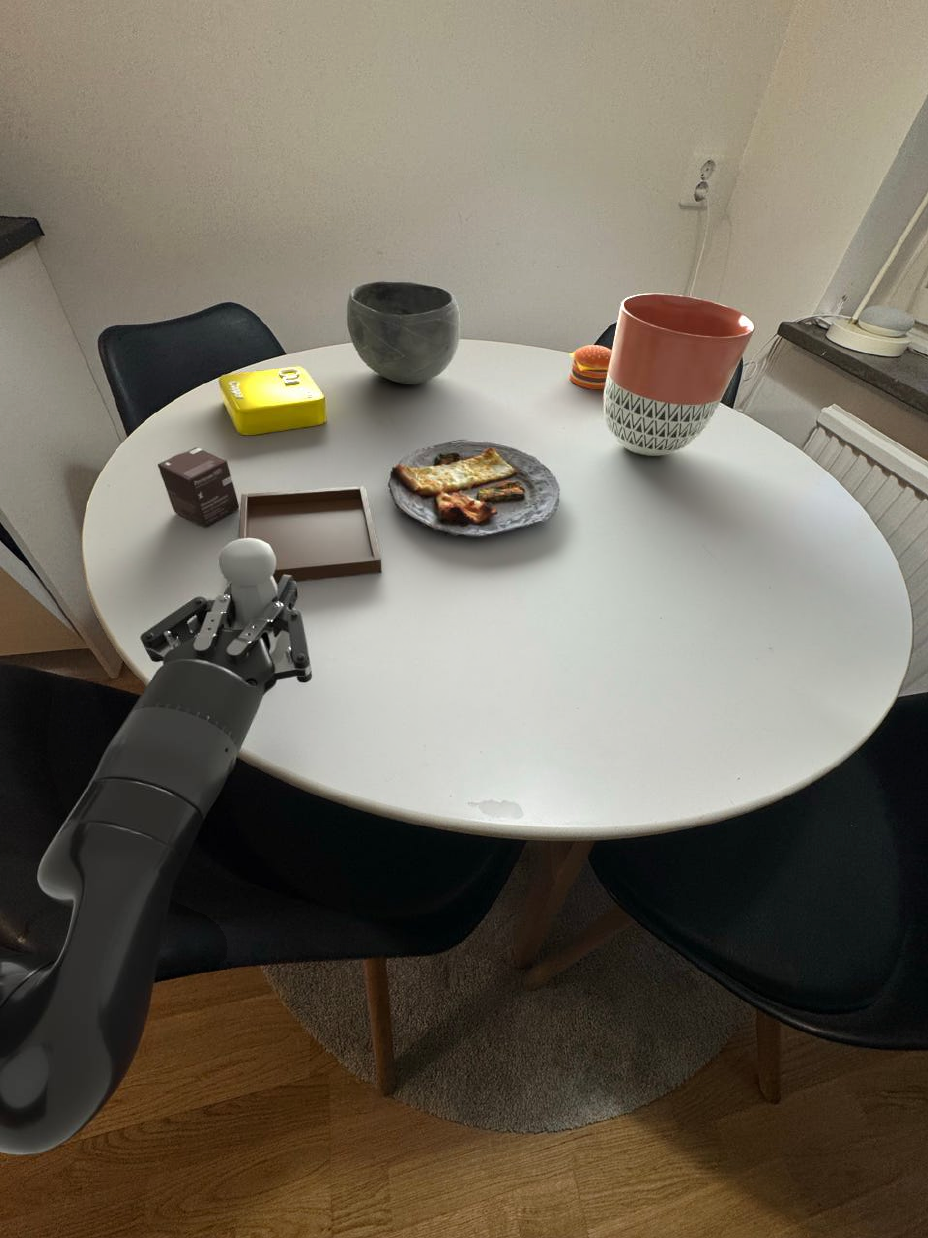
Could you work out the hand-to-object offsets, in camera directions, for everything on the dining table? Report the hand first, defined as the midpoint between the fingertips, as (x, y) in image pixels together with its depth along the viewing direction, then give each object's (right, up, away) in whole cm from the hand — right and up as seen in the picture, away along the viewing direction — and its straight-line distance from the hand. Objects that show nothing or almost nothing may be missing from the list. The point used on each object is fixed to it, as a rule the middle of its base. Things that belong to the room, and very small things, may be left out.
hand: (270, 579), depth 49 cm
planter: (+49, +27, +47) cm, 73 cm away
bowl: (+6, +45, +60) cm, 75 cm away
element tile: (-15, +33, +46) cm, 58 cm away
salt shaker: (-1, -7, +3) cm, 8 cm away
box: (-17, +11, +25) cm, 32 cm away
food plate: (+19, +15, +32) cm, 40 cm away
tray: (-3, +7, +22) cm, 23 cm away
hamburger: (+44, +47, +66) cm, 92 cm away
